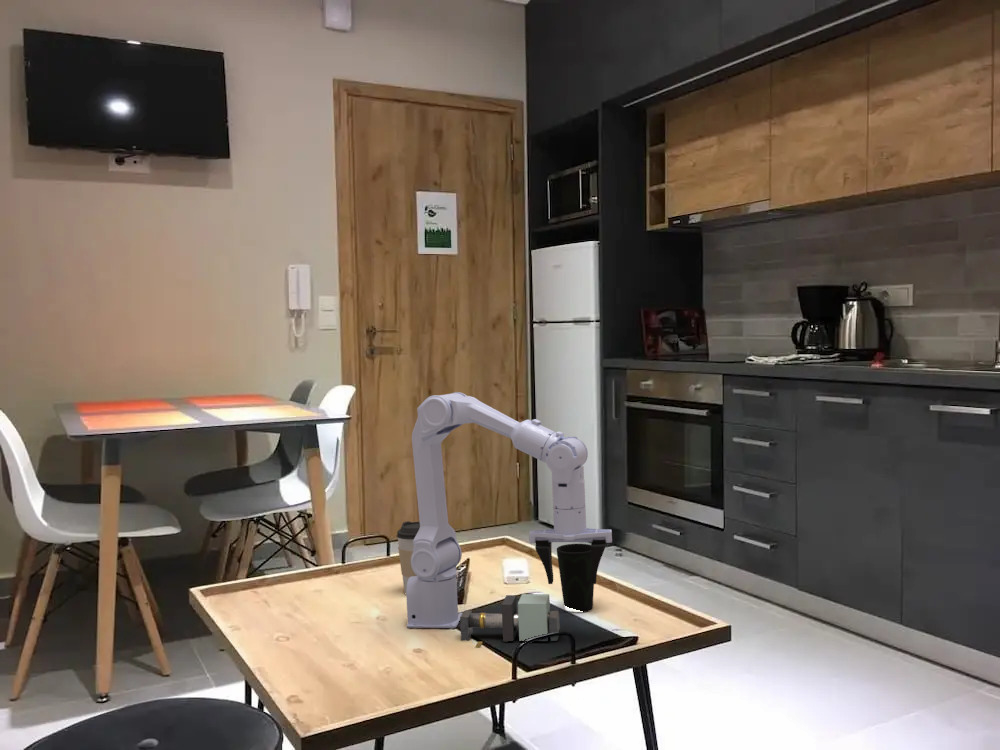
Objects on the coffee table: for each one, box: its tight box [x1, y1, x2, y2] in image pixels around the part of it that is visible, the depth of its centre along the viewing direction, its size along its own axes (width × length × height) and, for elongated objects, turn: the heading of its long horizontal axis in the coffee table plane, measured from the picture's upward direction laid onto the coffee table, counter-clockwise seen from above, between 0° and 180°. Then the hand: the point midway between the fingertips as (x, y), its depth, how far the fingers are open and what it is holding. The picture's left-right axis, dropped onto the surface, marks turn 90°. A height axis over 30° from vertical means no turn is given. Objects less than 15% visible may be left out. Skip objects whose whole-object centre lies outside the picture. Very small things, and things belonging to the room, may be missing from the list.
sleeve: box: [517, 593, 551, 641], centre depth 155 cm, size 5×6×7 cm
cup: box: [556, 543, 595, 613], centre depth 170 cm, size 8×8×12 cm
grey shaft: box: [459, 609, 561, 648], centre depth 154 cm, size 17×7×4 cm, turn 81°
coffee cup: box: [396, 520, 420, 594], centre depth 187 cm, size 9×9×15 cm
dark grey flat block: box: [501, 594, 519, 642], centre depth 155 cm, size 2×6×7 cm, turn 171°
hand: (572, 582), depth 153 cm, fingers open, 7 cm apart
